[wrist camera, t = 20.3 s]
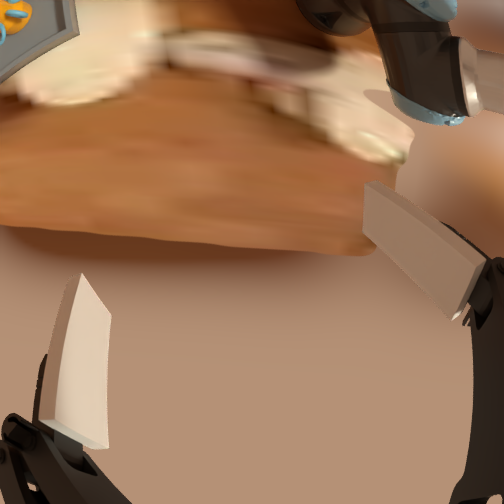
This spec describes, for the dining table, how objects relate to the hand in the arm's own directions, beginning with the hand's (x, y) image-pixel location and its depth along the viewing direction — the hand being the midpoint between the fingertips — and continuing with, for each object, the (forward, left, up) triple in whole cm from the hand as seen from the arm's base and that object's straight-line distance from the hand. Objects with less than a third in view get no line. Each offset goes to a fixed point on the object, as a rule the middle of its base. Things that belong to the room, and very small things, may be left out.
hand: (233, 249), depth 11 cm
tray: (+22, -32, -35) cm, 52 cm away
